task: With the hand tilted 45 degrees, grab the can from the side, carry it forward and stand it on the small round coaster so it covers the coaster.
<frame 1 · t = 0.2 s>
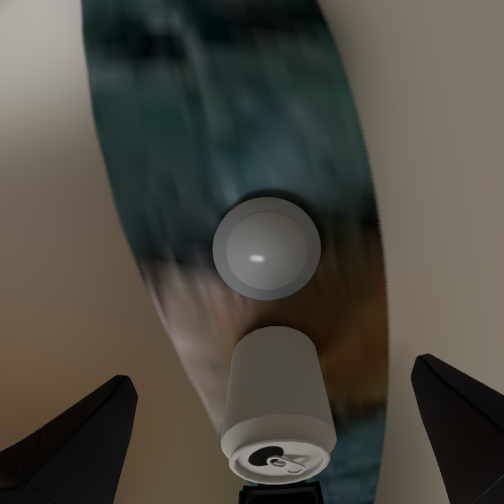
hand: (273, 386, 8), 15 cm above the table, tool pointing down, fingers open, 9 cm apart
coaster: (266, 249, 22), on the table
can: (274, 353, 26), on the table
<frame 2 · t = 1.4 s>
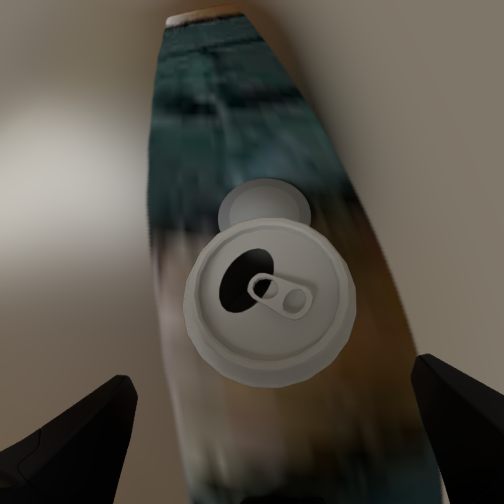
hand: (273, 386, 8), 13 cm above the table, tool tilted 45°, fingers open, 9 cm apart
coaster: (264, 218, 26), on the table
can: (273, 334, 22), on the table
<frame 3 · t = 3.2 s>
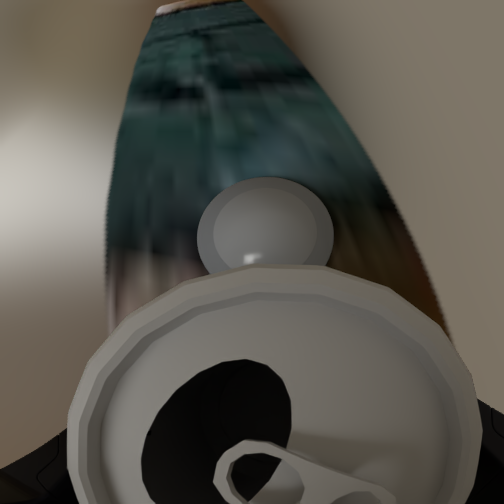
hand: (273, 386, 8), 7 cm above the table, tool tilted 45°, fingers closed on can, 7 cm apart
coaster: (265, 235, 18), on the table
can: (276, 410, 13), on the table, touching gripper
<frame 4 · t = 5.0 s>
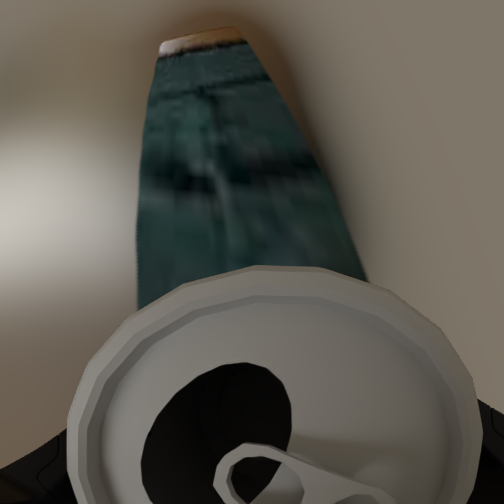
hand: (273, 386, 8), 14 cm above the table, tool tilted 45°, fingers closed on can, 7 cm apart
can: (276, 410, 13), point 7 cm above the table, touching gripper
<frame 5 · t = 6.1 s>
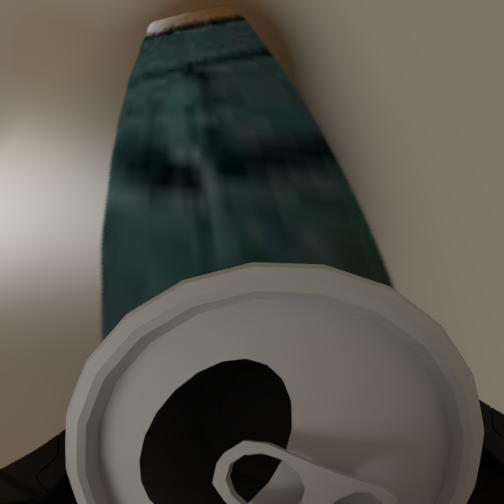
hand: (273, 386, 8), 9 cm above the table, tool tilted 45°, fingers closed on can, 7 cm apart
can: (276, 410, 13), point 2 cm above the table, touching gripper
when the fingers open (8 cm above the table, at t = 6.9 s): can stays where it is, resting on coaster.
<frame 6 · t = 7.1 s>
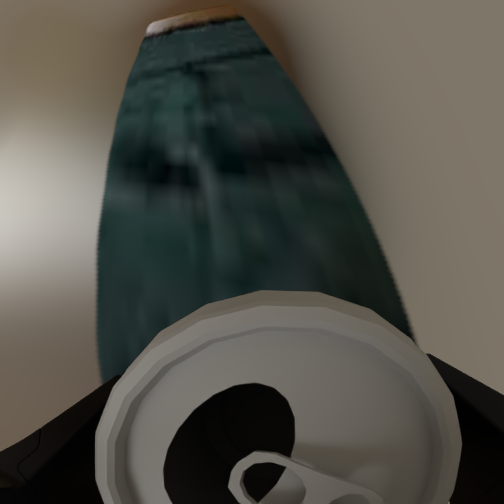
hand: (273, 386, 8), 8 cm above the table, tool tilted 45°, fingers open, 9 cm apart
can: (277, 412, 14), point 1 cm above the table, touching coaster
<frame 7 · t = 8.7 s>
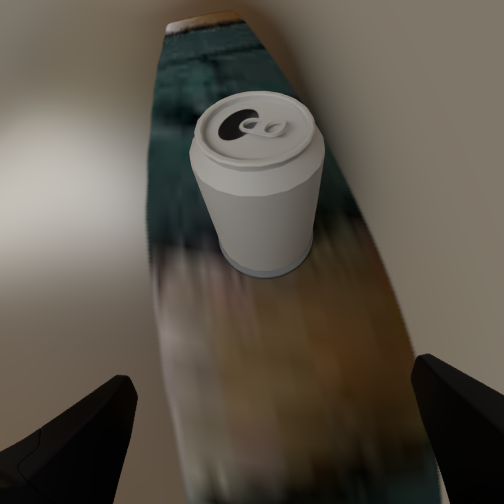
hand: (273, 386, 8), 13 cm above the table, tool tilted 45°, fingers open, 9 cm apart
coaster: (265, 234, 25), on the table
can: (265, 234, 25), point 1 cm above the table, touching coaster
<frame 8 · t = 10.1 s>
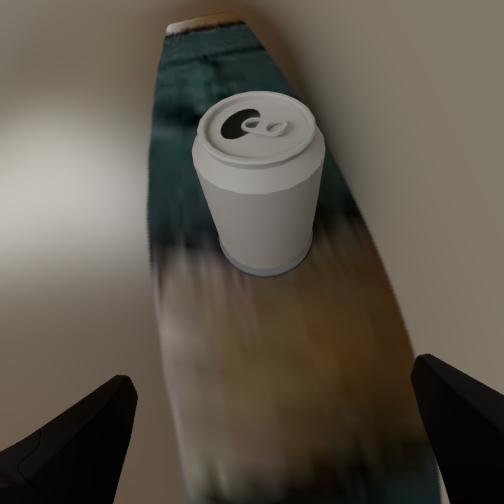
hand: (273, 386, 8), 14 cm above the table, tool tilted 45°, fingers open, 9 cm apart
coaster: (265, 233, 26), on the table
can: (265, 233, 25), point 1 cm above the table, touching coaster
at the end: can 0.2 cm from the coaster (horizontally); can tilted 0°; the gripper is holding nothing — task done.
